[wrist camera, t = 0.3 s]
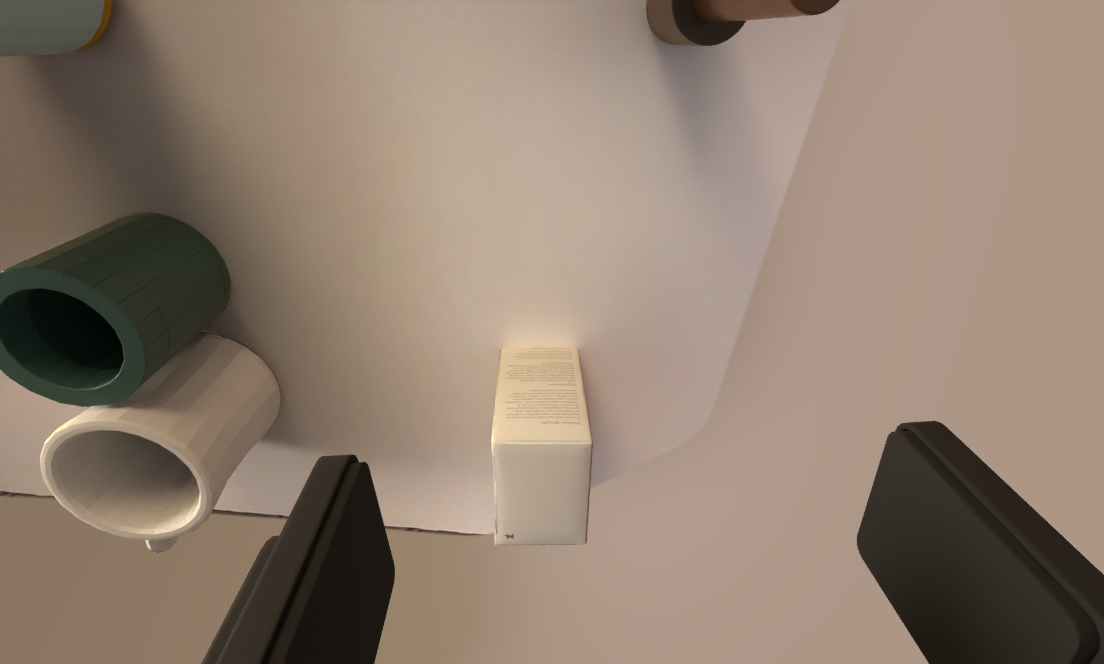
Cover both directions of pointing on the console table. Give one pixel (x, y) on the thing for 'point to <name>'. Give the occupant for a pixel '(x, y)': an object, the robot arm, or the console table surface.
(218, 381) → the mug
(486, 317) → the console table surface
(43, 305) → the green pen holder
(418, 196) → the console table surface
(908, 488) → the robot arm
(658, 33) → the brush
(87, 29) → the bottle
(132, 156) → the console table surface
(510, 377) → the small box
